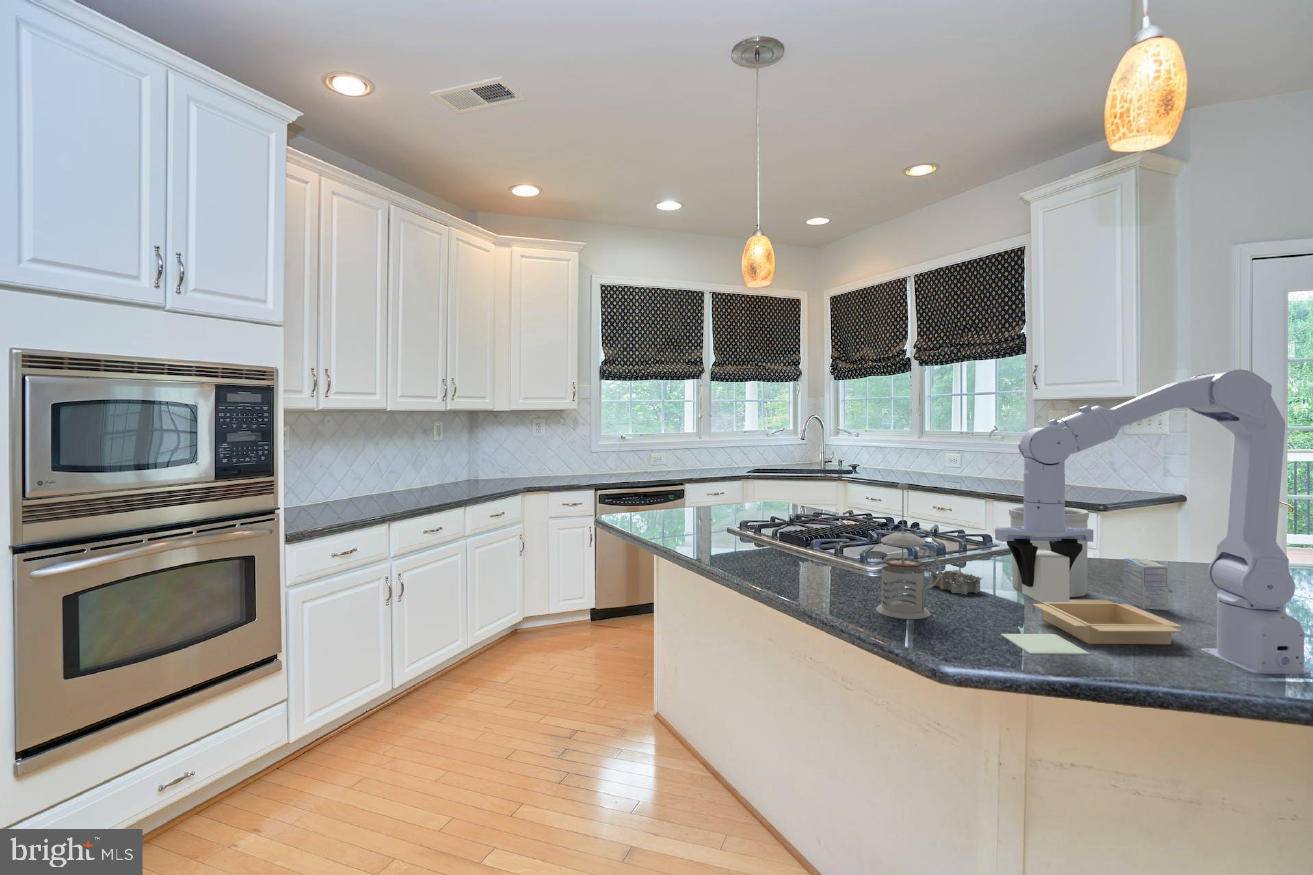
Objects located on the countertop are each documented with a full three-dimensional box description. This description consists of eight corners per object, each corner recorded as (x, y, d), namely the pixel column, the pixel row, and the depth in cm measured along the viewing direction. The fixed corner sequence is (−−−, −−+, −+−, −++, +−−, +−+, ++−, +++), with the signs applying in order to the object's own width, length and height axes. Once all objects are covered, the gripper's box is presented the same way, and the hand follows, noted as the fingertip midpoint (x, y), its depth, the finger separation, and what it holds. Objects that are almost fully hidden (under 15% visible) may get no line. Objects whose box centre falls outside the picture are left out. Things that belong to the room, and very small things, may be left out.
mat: (1089, 656, 99) (1089, 653, 99) (1030, 656, 99) (1030, 652, 99) (1055, 637, 108) (1055, 633, 108) (1000, 637, 108) (1000, 633, 108)
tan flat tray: (1196, 651, 100) (1196, 630, 100) (1085, 651, 101) (1085, 629, 101) (1117, 617, 118) (1117, 599, 118) (1024, 616, 119) (1024, 598, 119)
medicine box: (1169, 612, 122) (1169, 566, 121) (1142, 610, 123) (1142, 566, 122) (1146, 600, 129) (1146, 558, 129) (1121, 599, 130) (1121, 557, 130)
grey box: (1069, 602, 100) (1069, 557, 100) (1040, 601, 100) (1040, 557, 100) (1044, 590, 107) (1044, 548, 107) (1017, 590, 107) (1017, 548, 107)
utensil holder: (993, 584, 143) (993, 507, 142) (1041, 578, 148) (1041, 503, 148) (1054, 602, 129) (1055, 515, 129) (1105, 594, 134) (1105, 511, 134)
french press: (881, 601, 130) (881, 479, 129) (943, 609, 124) (944, 481, 124) (870, 614, 122) (870, 483, 121) (936, 623, 116) (937, 486, 115)
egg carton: (924, 584, 145) (924, 566, 145) (952, 582, 146) (952, 564, 146) (956, 596, 134) (956, 577, 134) (986, 594, 136) (986, 574, 136)
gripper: (1074, 498, 106) (1074, 579, 107) (986, 498, 107) (986, 579, 107) (1102, 503, 99) (1101, 590, 100) (1007, 504, 100) (1007, 590, 100)
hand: (1043, 585), depth 103 cm, fingers closed on grey box, 4 cm apart
